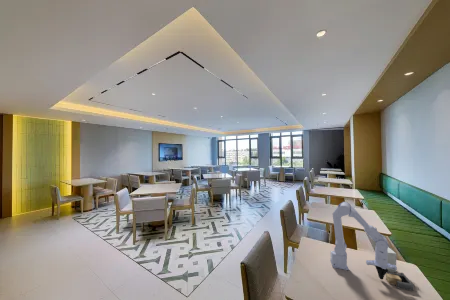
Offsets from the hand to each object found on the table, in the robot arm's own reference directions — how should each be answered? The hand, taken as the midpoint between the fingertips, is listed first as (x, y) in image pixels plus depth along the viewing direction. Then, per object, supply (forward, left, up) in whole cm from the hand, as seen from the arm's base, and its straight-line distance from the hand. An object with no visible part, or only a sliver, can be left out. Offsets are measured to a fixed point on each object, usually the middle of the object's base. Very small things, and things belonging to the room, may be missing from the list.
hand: (380, 277), depth 108 cm
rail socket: (+10, +1, -1) cm, 10 cm away
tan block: (+6, 0, -2) cm, 6 cm away
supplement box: (+8, +14, -2) cm, 16 cm away
